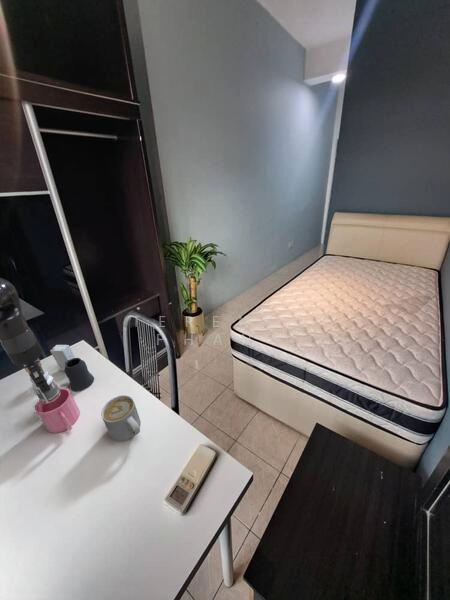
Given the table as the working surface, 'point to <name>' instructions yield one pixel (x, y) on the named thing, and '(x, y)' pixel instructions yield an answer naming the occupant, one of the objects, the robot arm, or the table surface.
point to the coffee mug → (121, 418)
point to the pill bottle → (48, 395)
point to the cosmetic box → (62, 355)
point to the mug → (78, 374)
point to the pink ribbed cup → (58, 412)
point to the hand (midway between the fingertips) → (44, 385)
